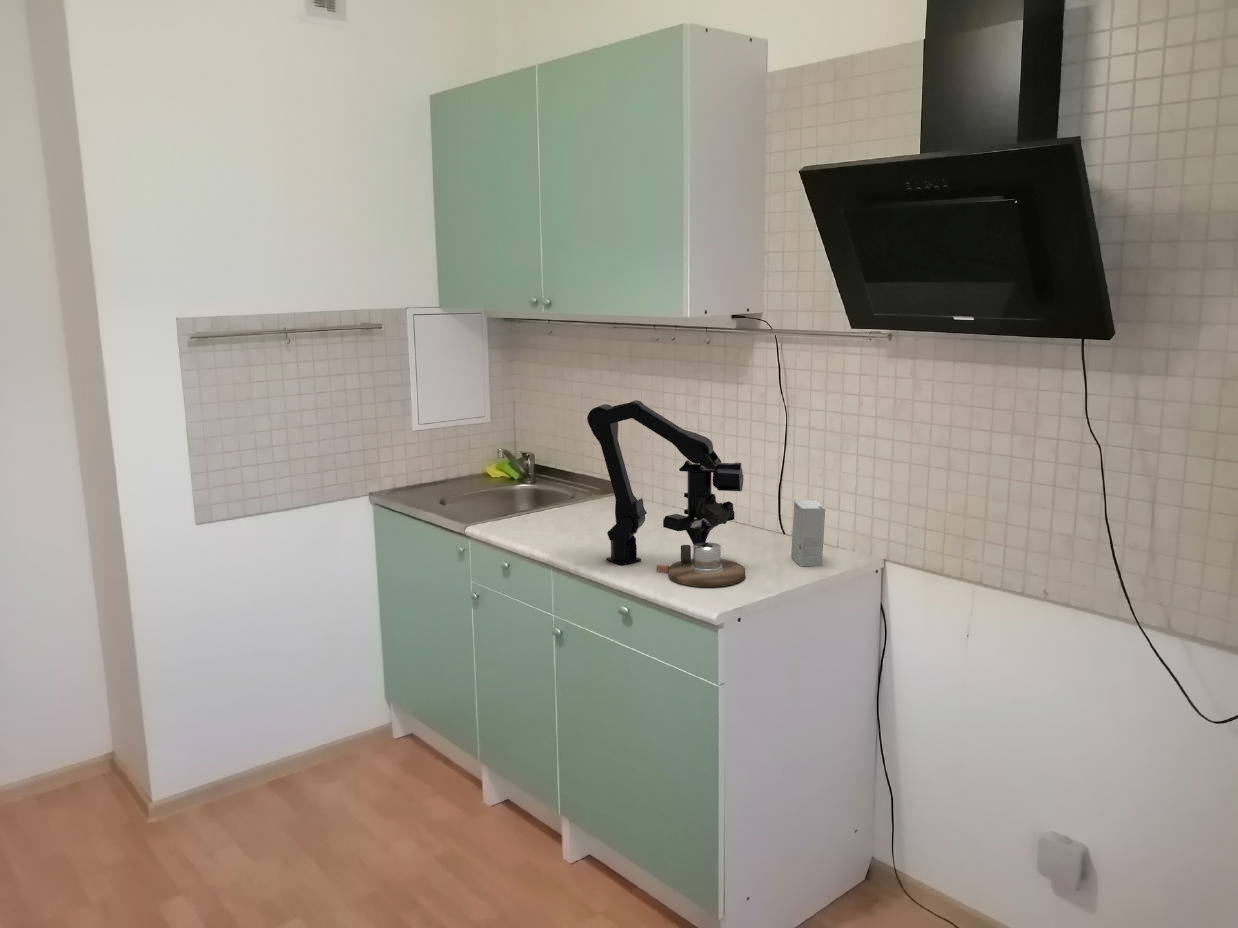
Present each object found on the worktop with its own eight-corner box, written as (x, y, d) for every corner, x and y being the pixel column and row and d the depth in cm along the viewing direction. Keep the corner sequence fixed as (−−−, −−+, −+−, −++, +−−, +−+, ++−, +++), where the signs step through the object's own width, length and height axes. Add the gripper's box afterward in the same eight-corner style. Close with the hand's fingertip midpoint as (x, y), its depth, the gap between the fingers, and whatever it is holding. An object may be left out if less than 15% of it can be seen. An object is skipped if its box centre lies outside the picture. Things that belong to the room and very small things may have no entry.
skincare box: (790, 557, 244) (791, 499, 241) (814, 556, 245) (815, 498, 242) (800, 567, 236) (801, 507, 233) (824, 566, 236) (825, 506, 234)
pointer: (656, 571, 234) (656, 565, 234) (657, 570, 235) (657, 564, 235) (668, 572, 233) (668, 566, 233) (669, 571, 234) (669, 565, 233)
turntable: (653, 573, 231) (652, 551, 230) (709, 560, 242) (709, 538, 241) (704, 591, 217) (704, 567, 216) (761, 576, 228) (761, 553, 227)
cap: (685, 568, 230) (685, 545, 229) (707, 562, 234) (707, 540, 233) (705, 574, 224) (705, 551, 223) (728, 569, 229) (728, 546, 228)
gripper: (692, 500, 223) (692, 566, 226) (751, 489, 234) (750, 552, 237) (661, 492, 232) (661, 556, 234) (718, 482, 243) (718, 543, 246)
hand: (699, 552), depth 238 cm, fingers closed
